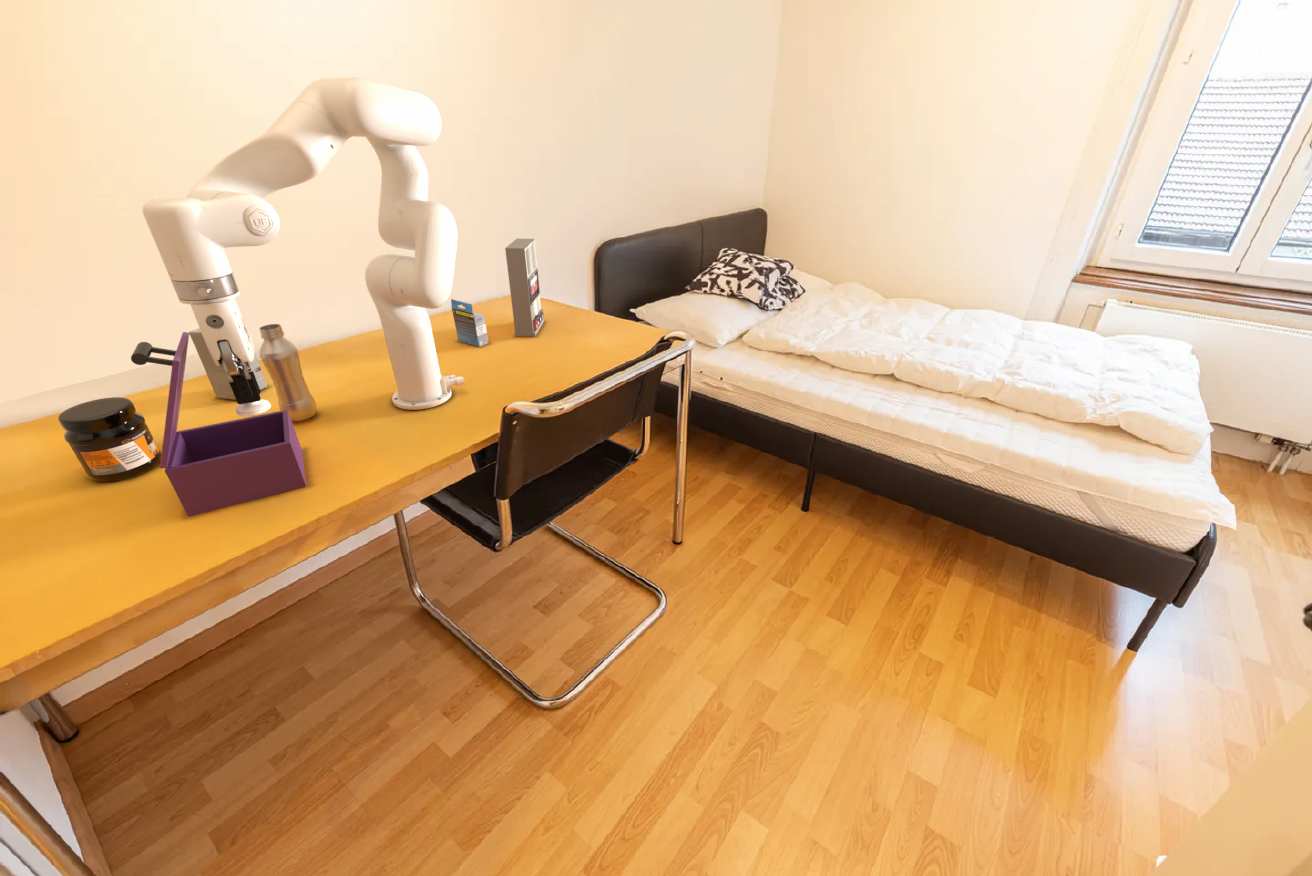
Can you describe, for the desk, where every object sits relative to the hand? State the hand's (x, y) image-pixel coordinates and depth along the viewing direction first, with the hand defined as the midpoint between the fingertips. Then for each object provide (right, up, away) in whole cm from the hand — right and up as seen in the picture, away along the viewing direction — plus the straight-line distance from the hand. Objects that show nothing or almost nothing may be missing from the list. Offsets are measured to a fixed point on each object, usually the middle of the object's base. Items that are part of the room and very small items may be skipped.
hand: (249, 397), depth 93 cm
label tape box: (+16, +20, +66) cm, 71 cm away
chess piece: (0, -2, +1) cm, 2 cm away
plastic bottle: (-8, -3, +26) cm, 27 cm away
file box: (-4, -14, +6) cm, 16 cm away
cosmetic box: (-28, +4, +36) cm, 46 cm away
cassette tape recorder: (+30, +26, +76) cm, 86 cm away
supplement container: (-28, -12, +9) cm, 32 cm away
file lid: (-7, 0, -5) cm, 9 cm away
